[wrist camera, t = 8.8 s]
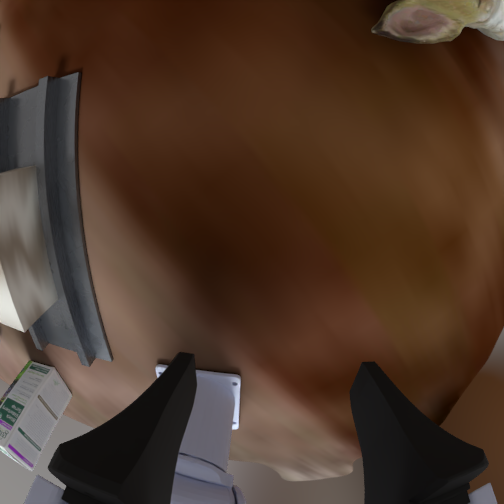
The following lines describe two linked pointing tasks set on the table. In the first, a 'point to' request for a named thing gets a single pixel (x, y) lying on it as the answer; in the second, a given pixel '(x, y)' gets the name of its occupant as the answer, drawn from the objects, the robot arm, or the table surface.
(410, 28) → the ceramic sculpture
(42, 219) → the floor track
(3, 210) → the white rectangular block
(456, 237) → the table surface
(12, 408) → the syrup box
